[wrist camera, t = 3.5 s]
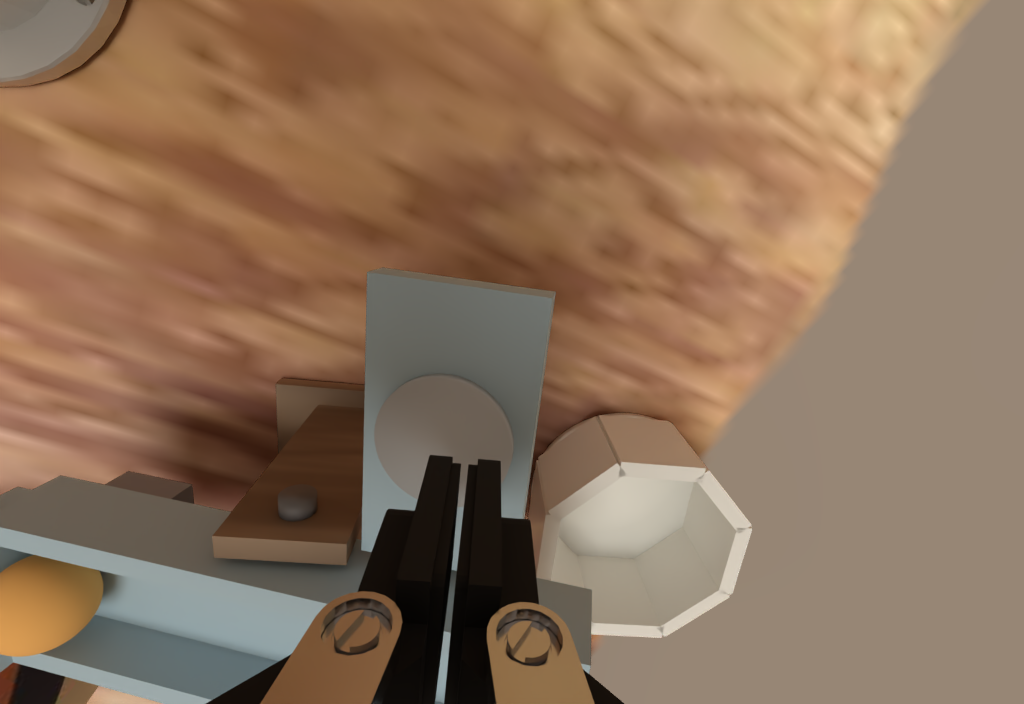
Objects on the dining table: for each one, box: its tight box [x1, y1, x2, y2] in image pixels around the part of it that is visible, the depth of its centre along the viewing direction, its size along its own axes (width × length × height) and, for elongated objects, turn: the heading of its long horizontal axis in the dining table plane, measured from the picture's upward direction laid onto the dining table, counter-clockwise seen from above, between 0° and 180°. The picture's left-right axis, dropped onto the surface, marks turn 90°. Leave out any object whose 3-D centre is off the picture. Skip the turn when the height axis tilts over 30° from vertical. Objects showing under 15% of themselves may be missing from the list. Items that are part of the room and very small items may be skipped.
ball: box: [0, 555, 103, 657], centre depth 17 cm, size 3×3×3 cm
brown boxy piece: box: [212, 378, 365, 565], centre depth 21 cm, size 10×8×10 cm
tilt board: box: [0, 268, 592, 704], centre depth 16 cm, size 16×21×5 cm
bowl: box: [528, 413, 752, 638], centre depth 25 cm, size 9×9×5 cm
